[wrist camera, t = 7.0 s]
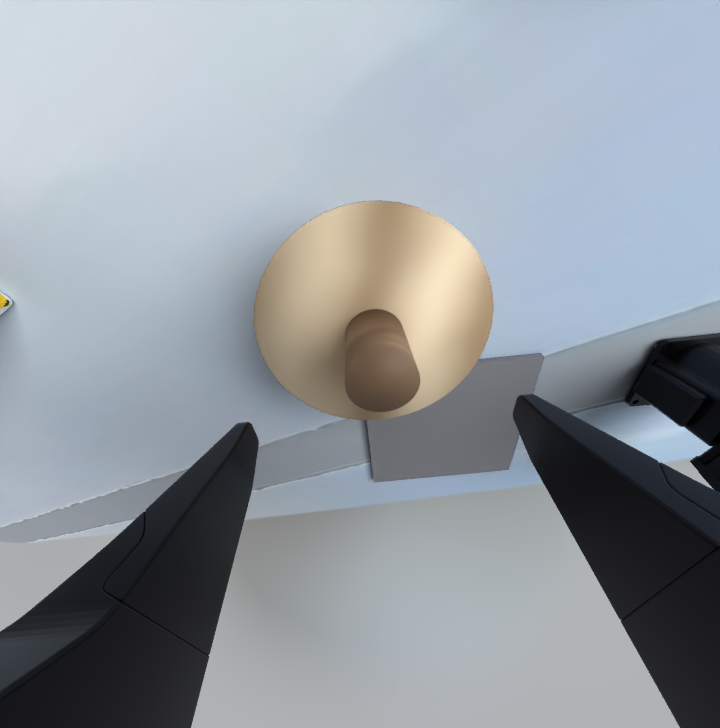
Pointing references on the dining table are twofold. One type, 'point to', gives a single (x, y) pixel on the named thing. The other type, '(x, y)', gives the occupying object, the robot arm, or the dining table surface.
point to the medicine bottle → (4, 302)
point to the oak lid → (373, 310)
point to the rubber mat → (457, 425)
